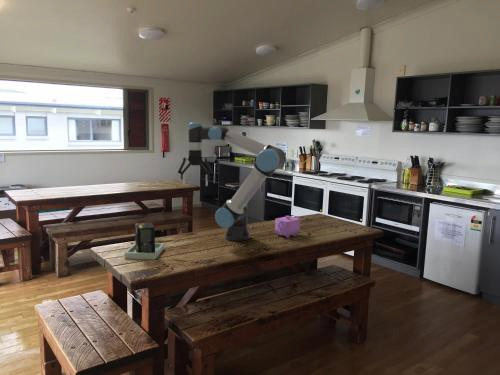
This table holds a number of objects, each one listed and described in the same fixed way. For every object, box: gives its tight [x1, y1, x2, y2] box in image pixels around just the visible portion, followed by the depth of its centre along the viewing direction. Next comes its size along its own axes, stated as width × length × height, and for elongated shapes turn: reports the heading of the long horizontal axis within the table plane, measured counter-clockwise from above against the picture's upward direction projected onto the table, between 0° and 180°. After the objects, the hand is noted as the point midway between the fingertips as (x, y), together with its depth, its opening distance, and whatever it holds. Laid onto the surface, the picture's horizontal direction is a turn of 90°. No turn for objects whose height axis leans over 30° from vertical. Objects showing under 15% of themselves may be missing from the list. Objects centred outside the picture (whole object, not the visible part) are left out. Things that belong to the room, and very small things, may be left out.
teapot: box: [274, 215, 301, 239], centre depth 268 cm, size 20×10×12 cm, turn 131°
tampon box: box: [134, 222, 156, 253], centre depth 227 cm, size 11×9×15 cm
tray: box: [124, 242, 165, 260], centre depth 228 cm, size 16×18×3 cm
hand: (195, 185), depth 252 cm, fingers open, 13 cm apart
